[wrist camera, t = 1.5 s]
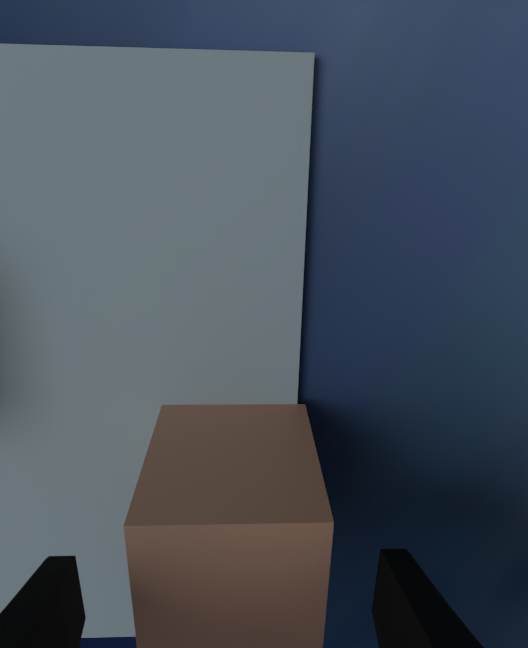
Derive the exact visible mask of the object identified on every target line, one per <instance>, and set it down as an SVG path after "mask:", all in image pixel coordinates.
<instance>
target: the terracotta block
mask: <svg viewBox="0 0 528 648" xmlns="http://www.w3.org/2000/svg"><path fill="white" fill-rule="evenodd" d="M123 527H124V536H125V545H126V554H127V563H128V572H129V581H130V590H131V599H132V608H133V616H134V625H135V634H136V643H137V648H323V639H324V628H325V617H326V606H327V594H328V583H329V572H330V561H331V550H332V539H333V528H334V520H333V516H332V512H331V508H330V504H329V500H328V496H327V492H326V488H325V484H324V479H323V475H322V471H321V467H320V463H319V459H318V455H317V451H316V447H315V442H314V438H313V434H312V430H311V426H310V422H309V418H308V414H307V410H306V405H305V404H230V405H162V406H161V409H160V412H159V415H158V418H157V422H156V425H155V428H154V431H153V434H152V437H151V441H150V444H149V447H148V450H147V453H146V456H145V459H144V463H143V466H142V469H141V472H140V475H139V478H138V482H137V485H136V488H135V491H134V494H133V497H132V500H131V504H130V507H129V510H128V513H127V516H126V519H125V523H124V526H123Z"/></svg>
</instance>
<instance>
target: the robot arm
mask: <svg viewBox="0 0 528 648" xmlns="http://www.w3.org/2000/svg"><path fill="white" fill-rule="evenodd" d="M372 613H373V618H374V623H375V628H376V634H377V638H378V643H379V648H484V647H483V646H482V645H481V644H480V643H479V641H478V640H477V639H476V638H475V637H474V635H473V634H472V633H471V632H470V631H469V629H468V628H467V627H466V626H465V624H464V623H463V622H462V621H461V620H460V618H459V617H458V616H457V615H456V613H455V612H454V611H453V610H452V608H451V607H450V606H449V605H448V603H447V602H446V601H445V599H444V598H443V597H442V596H441V594H440V593H439V592H438V590H437V589H436V588H435V586H434V585H433V584H432V582H431V581H430V580H429V578H428V577H427V576H426V574H425V573H424V572H423V570H422V569H421V568H420V566H419V565H418V564H417V562H416V561H415V559H414V558H413V557H412V555H411V554H410V553H409V552H408V551H407V550H406V549H381V550H380V557H379V564H378V571H377V578H376V585H375V592H374V600H373V607H372ZM85 619H86V616H85V610H84V604H83V598H82V592H81V586H80V580H79V574H78V568H77V562H76V556H48V557H47V558H46V559H45V560H44V561H43V563H42V564H41V565H40V566H39V567H38V569H37V570H36V571H35V572H34V573H33V575H32V576H31V577H30V578H29V579H28V581H27V582H26V583H25V584H24V586H23V587H22V588H21V589H20V590H19V592H18V593H17V594H16V595H15V596H14V597H13V599H12V600H11V601H10V602H9V603H8V605H7V606H6V607H5V608H4V609H3V610H2V612H1V613H0V648H79V645H80V640H81V636H82V632H83V628H84V624H85Z"/></svg>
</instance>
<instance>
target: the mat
mask: <svg viewBox="0 0 528 648" xmlns="http://www.w3.org/2000/svg"><path fill="white" fill-rule="evenodd" d="M314 54H315V53H305V52H271V51H236V50H202V49H167V48H132V47H98V46H63V45H28V44H0V613H1V612H2V610H3V609H4V608H5V607H6V606H7V605H8V603H9V602H10V601H11V600H12V599H13V597H14V596H15V595H16V594H17V593H18V592H19V590H20V589H21V588H22V587H23V586H24V584H25V583H26V582H27V581H28V579H29V578H30V577H31V576H32V575H33V573H34V572H35V571H36V570H37V569H38V567H39V566H40V565H41V564H42V563H43V561H44V560H45V559H46V558H47V557H48V556H76V562H77V568H78V574H79V580H80V586H81V592H82V598H83V604H84V610H85V616H86V619H85V624H84V628H83V632H82V636H81V638H95V637H131V636H136V634H135V625H134V616H133V608H132V599H131V590H130V581H129V572H128V563H127V554H126V545H125V536H124V527H123V526H124V523H125V519H126V516H127V513H128V510H129V507H130V504H131V500H132V497H133V494H134V491H135V488H136V485H137V482H138V478H139V475H140V472H141V469H142V466H143V463H144V459H145V456H146V453H147V450H148V447H149V444H150V441H151V437H152V434H153V431H154V428H155V425H156V422H157V418H158V415H159V412H160V409H161V406H162V405H230V404H297V400H298V380H299V359H300V339H301V319H302V298H303V278H304V258H305V237H306V217H307V197H308V176H309V156H310V136H311V115H312V95H313V75H314Z"/></svg>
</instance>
